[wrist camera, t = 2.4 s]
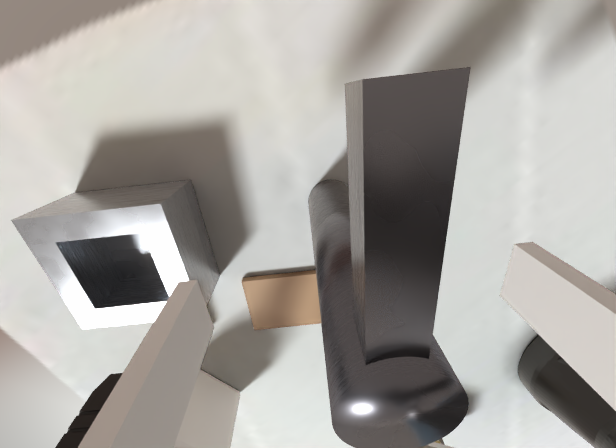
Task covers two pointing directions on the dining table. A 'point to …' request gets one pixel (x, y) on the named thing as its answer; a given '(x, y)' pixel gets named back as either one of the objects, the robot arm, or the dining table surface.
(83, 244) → the block
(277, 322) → the copper plate
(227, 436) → the medicine bottle
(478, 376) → the dining table surface
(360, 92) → the chuck key
